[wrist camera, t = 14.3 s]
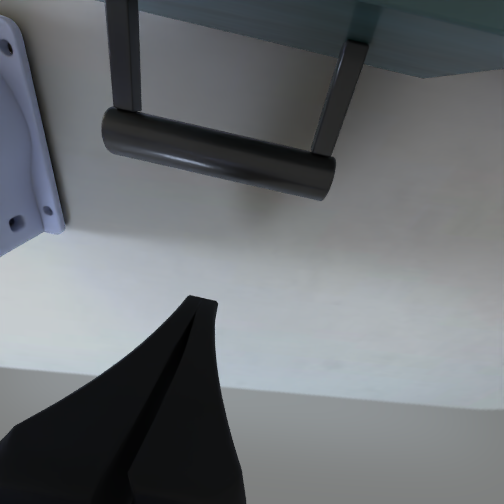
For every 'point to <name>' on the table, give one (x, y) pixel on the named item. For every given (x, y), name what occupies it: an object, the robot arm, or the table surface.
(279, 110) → the table surface
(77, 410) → the robot arm
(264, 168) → the drawer
